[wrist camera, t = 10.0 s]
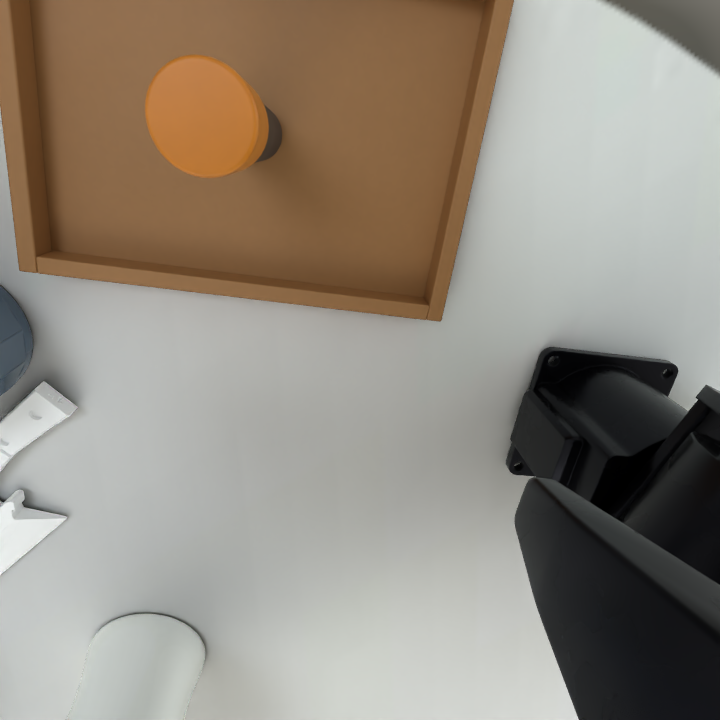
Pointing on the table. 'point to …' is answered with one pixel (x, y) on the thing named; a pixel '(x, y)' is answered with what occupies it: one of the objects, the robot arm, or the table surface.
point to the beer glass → (139, 670)
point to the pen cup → (13, 342)
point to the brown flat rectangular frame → (262, 179)
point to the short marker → (208, 118)
